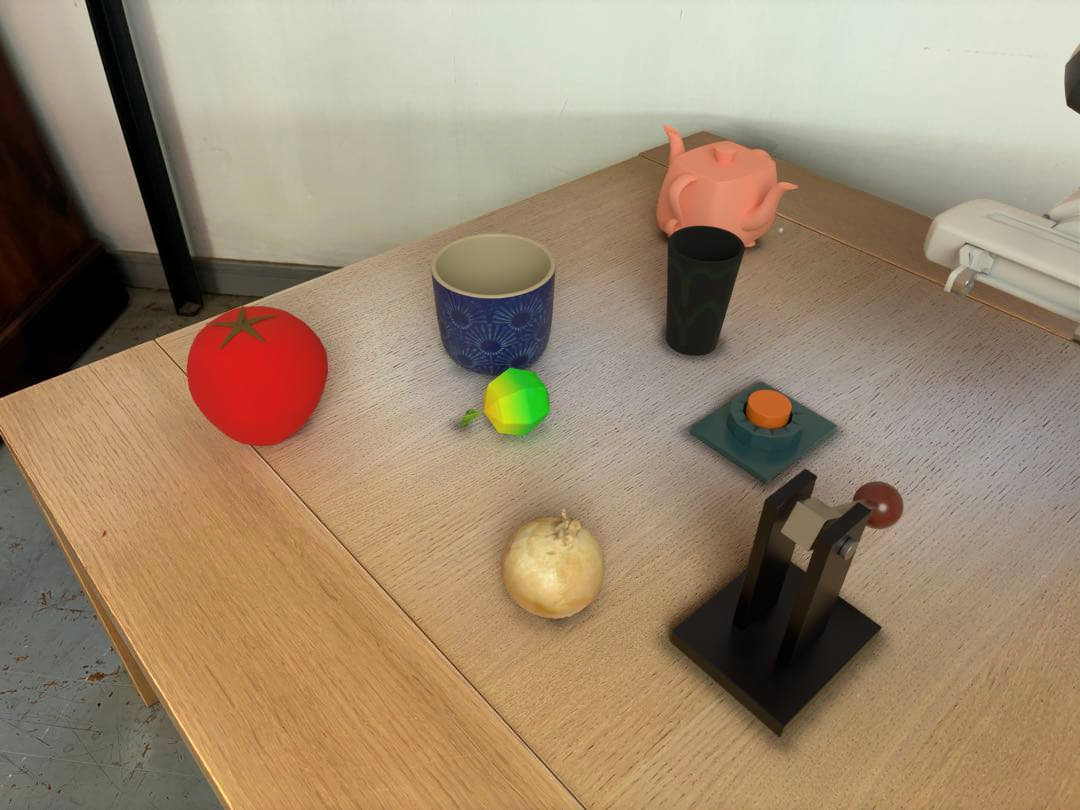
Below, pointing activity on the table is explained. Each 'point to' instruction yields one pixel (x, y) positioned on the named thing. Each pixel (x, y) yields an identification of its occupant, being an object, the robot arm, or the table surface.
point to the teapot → (719, 189)
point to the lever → (818, 516)
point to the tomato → (257, 374)
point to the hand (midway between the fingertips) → (1015, 313)
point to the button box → (762, 436)
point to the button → (768, 409)
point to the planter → (494, 301)
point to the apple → (514, 402)
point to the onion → (553, 566)
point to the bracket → (783, 616)
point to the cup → (700, 286)
